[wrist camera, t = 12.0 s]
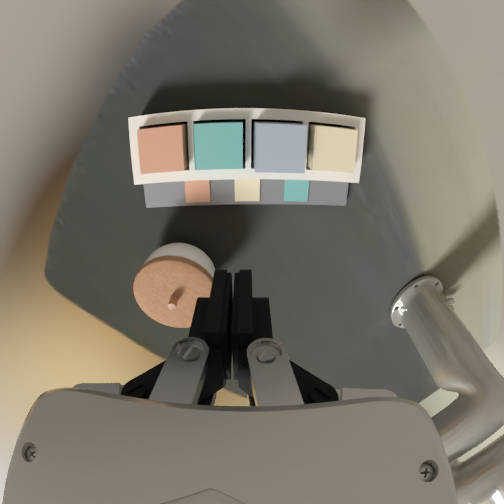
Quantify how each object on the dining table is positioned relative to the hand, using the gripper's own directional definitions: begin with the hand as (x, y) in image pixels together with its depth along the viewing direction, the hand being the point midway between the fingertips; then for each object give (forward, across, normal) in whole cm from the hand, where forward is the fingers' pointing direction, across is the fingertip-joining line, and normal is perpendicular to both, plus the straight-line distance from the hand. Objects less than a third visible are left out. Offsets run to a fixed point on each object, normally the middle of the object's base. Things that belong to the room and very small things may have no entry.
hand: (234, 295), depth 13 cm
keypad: (+23, 0, -3) cm, 23 cm away
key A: (+22, +8, -5) cm, 24 cm away
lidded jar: (+23, +8, +12) cm, 27 cm away
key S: (+21, -4, -5) cm, 22 cm away
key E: (+23, -10, -5) cm, 25 cm away
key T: (+22, +2, -5) cm, 23 cm away
